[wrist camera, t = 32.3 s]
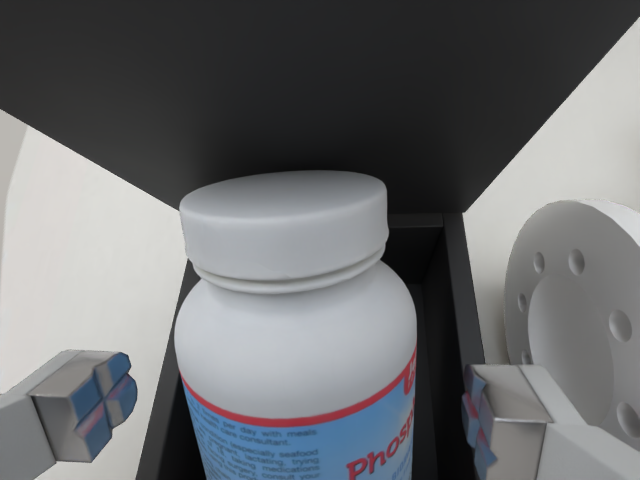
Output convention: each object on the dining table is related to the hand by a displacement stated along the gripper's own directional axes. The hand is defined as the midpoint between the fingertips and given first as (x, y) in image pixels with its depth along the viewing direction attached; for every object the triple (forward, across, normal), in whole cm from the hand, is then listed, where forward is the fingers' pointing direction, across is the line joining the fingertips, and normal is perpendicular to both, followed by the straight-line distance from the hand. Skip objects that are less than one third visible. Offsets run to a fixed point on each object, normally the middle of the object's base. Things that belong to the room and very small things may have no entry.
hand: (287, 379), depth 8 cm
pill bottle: (+2, 0, +7) cm, 7 cm away
